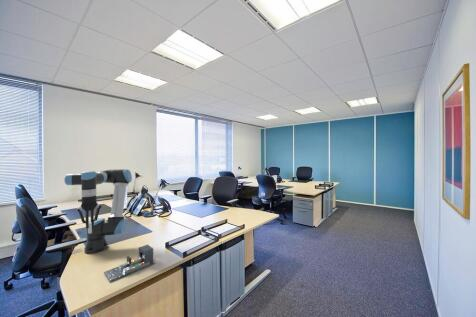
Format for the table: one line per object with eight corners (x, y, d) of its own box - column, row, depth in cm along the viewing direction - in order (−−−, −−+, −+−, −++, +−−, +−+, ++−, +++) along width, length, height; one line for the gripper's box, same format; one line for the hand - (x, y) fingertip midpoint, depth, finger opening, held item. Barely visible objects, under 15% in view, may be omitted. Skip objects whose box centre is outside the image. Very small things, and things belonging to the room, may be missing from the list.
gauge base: (103, 273, 123) (103, 257, 123) (146, 257, 142) (146, 243, 142) (109, 282, 114) (109, 265, 114) (154, 264, 133) (154, 249, 133)
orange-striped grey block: (125, 264, 130) (125, 255, 130) (146, 257, 139) (146, 248, 139) (130, 269, 124) (130, 260, 124) (151, 261, 133) (151, 252, 133)
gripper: (77, 198, 118) (77, 237, 118) (102, 195, 127) (103, 231, 127) (74, 196, 123) (75, 234, 123) (99, 193, 132) (100, 228, 133)
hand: (89, 232), depth 125 cm, fingers closed
